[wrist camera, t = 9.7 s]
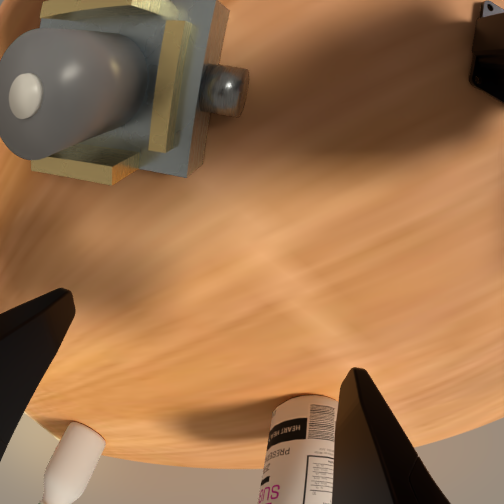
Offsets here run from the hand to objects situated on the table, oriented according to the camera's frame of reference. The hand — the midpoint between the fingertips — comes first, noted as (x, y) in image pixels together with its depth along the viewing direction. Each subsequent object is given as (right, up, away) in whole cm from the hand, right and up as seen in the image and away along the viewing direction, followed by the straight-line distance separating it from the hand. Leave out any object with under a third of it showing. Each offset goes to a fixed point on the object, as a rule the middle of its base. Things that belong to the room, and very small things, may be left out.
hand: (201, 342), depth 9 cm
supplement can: (+8, -14, +22) cm, 28 cm away
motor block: (-7, +14, +8) cm, 17 cm away
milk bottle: (-28, -30, +38) cm, 56 cm away
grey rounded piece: (-7, +12, +6) cm, 15 cm away
